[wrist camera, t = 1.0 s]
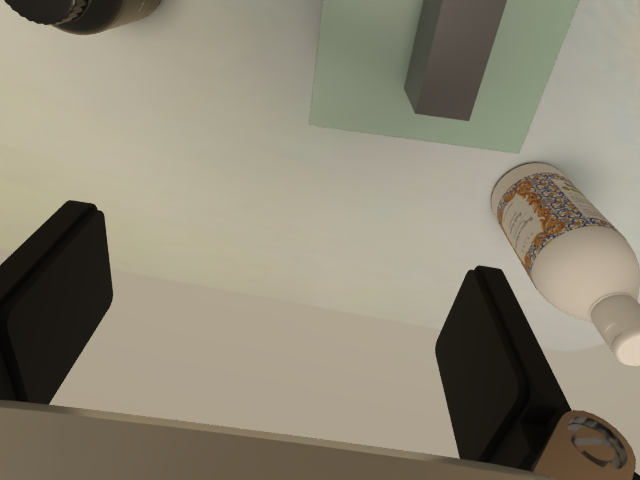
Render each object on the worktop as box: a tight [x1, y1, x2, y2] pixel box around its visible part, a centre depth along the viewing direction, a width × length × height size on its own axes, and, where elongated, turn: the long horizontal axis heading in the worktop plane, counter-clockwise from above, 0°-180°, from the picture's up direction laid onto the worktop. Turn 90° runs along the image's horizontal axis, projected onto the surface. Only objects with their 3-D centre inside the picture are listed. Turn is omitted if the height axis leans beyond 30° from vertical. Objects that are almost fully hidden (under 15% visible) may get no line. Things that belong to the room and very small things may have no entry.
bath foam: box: [491, 163, 640, 366], centre depth 35 cm, size 7×7×20 cm
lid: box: [309, 0, 579, 154], centre depth 22 cm, size 13×13×7 cm
